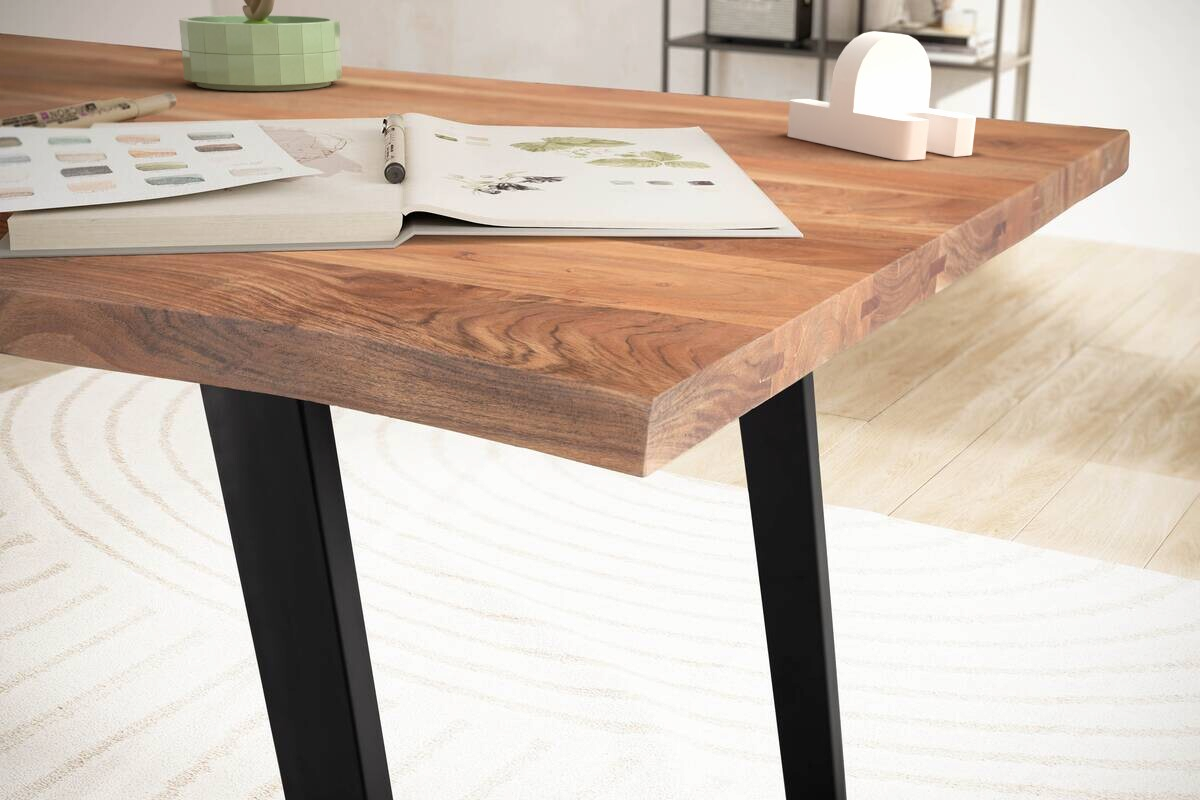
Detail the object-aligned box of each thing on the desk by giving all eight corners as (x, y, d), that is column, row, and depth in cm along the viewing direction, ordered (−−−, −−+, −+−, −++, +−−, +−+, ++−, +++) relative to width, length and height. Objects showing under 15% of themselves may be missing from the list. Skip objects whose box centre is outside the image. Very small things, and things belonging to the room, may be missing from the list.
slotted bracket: (977, 154, 88) (990, 38, 86) (900, 160, 85) (912, 39, 82) (854, 130, 99) (863, 26, 96) (782, 135, 96) (789, 27, 93)
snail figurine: (254, 82, 119) (244, -55, 115) (221, 76, 123) (211, -56, 119) (305, 79, 122) (298, -54, 118) (272, 73, 127) (264, -55, 123)
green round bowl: (214, 95, 113) (209, 25, 111) (165, 80, 125) (159, 16, 123) (366, 88, 121) (363, 22, 119) (306, 74, 133) (303, 14, 131)
